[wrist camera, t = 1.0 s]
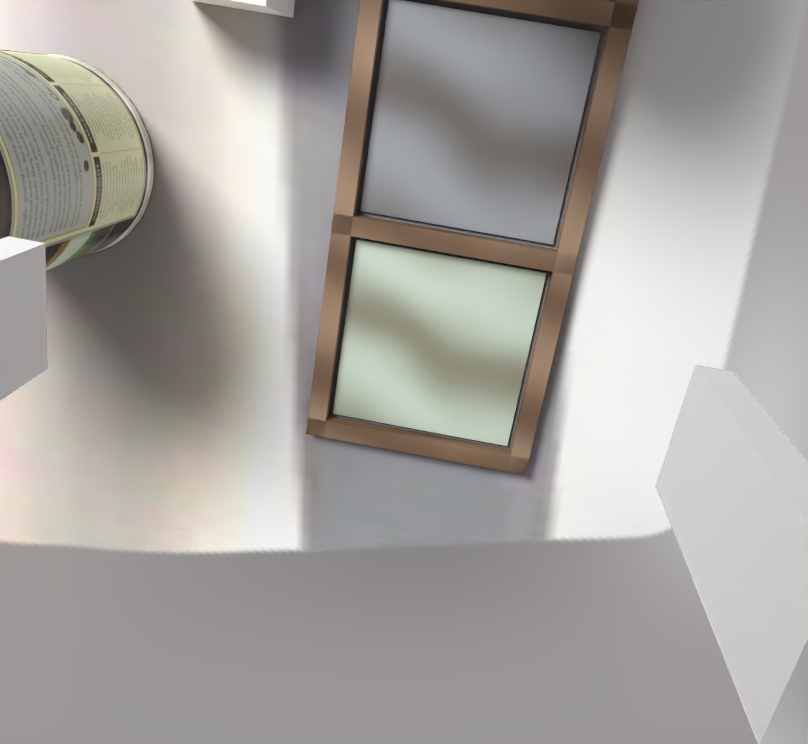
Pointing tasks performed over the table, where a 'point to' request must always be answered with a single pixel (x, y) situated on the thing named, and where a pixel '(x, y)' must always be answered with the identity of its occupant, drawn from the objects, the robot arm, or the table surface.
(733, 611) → the robot arm
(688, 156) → the table surface
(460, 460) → the walnut frame
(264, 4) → the white die
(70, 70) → the coffee can
